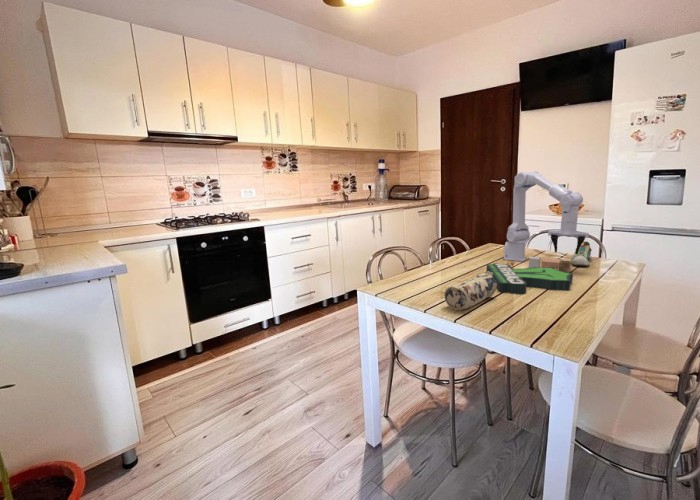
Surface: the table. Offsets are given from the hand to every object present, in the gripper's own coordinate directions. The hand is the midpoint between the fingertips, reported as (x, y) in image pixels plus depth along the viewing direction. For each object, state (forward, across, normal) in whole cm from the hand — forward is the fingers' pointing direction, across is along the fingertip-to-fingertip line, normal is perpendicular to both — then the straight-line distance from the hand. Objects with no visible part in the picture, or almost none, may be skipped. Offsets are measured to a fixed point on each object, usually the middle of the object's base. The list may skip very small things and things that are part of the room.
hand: (566, 252), depth 147 cm
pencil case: (+9, -24, -56) cm, 62 cm away
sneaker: (+9, +5, +22) cm, 24 cm away
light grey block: (+9, -12, +2) cm, 15 cm away
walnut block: (+9, 0, 0) cm, 9 cm away
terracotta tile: (+9, -6, +10) cm, 15 cm away
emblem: (+10, -10, -21) cm, 25 cm away
